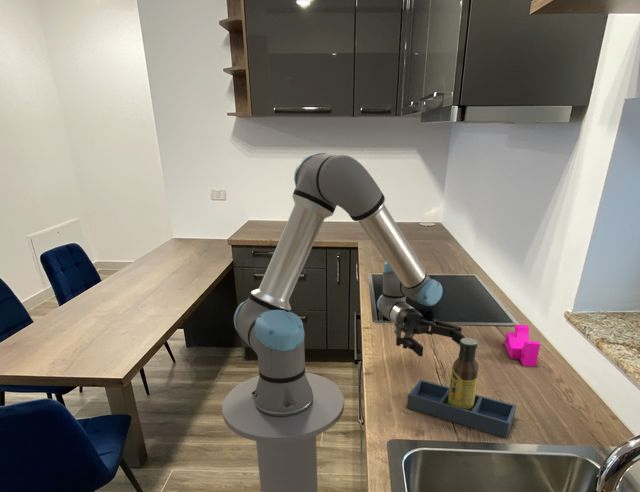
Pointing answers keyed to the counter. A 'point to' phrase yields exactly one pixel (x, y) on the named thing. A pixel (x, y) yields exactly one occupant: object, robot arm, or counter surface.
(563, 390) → the counter surface
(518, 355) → the toy block
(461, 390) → the sauce bottle
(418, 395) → the compartment tray
